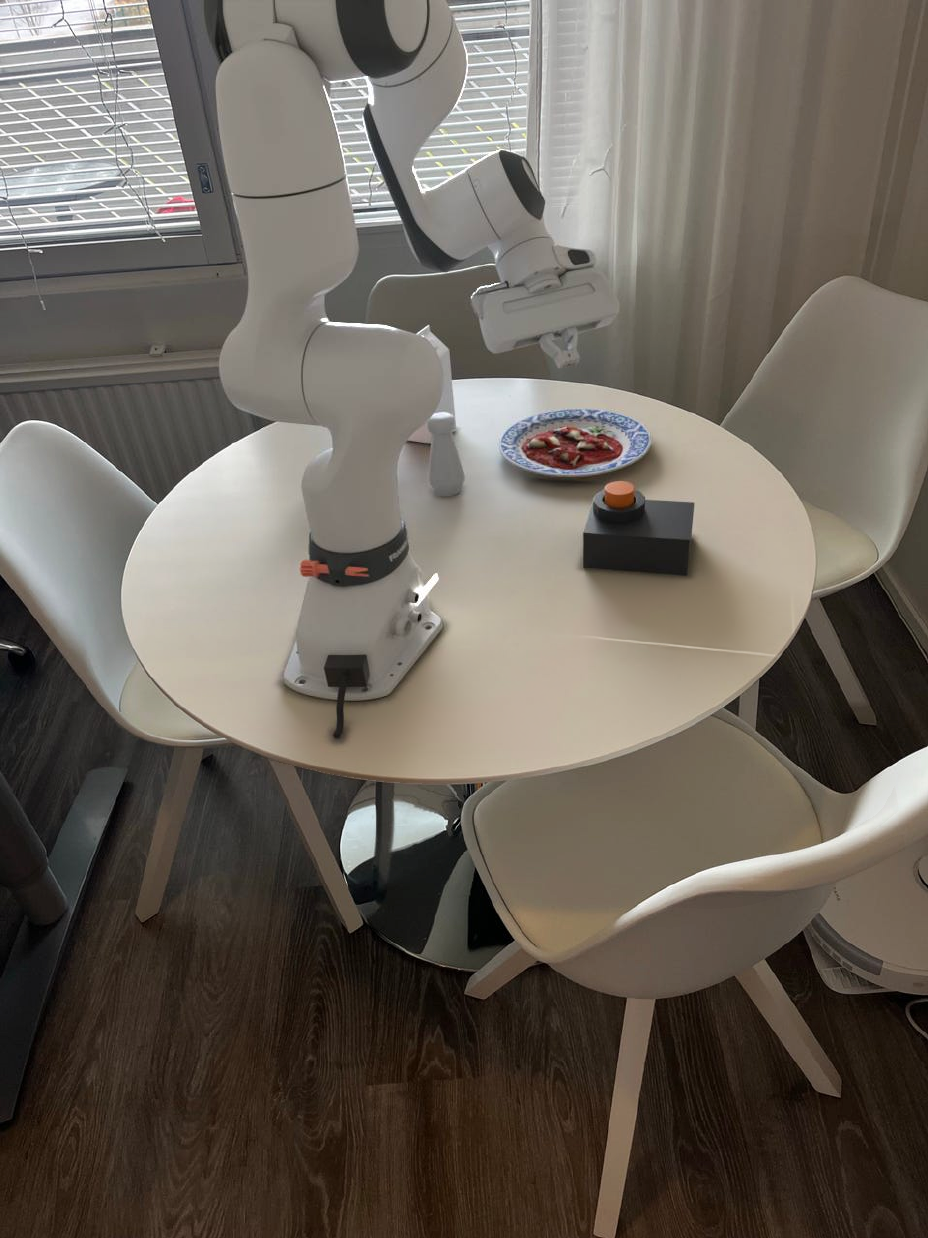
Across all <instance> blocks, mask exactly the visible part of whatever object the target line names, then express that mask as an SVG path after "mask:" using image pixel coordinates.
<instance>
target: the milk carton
mask: <svg viewBox="0 0 928 1238" xmlns="http://www.w3.org/2000/svg"><path fill="white" fill-rule="evenodd" d="M416 334H417V335H420V336H423V337H425V338H427V339H428V340H429V342H430V343H431V344H432V345H433V347H434V349H435V350H436V352H437V354H438V356H439V359H440V362H441V365H442V370H443V379H444V382H443V392H442V396H441V399H440V402H439V405H438V407H437V409H436V410H435V412H434V413H439V412H445V413H449V414H451V415H452V416H453V417H454V421H455V428H454V430H453V431H452V433H453V434H454V432H455V431H456V430H457V421H456V420H457V419H456V411H455V409H456V408H455V400H454V388H453V379H452V367H451V358H450V357H451V354H450V349H449V348H448V347H447V345H445V344H444V343H443V341H441V340H440V339H439V338H438V337H437V336H436V335H435V334H433V332H431V326H430V324H427V326H425V327H423V328H422V329H421V330H420V331H418V332H417V333H416ZM431 438H432V433H431V432H429V430H428V426H427V422H426V423H425V424H424V425H423V426H421V427H420V428H419V429H417V430H416V431H415V432H414V433H413V434H412V435H411V436H410V437H409V438H408V439H407V441H406V442H416V443H420V444H421V443H423V444H430V445H431Z"/></svg>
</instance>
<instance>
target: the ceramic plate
mask: <svg viewBox="0 0 928 1238" xmlns="http://www.w3.org/2000/svg"><path fill="white" fill-rule="evenodd" d="M651 445H652V435H651V432H650V430H648V428H647V427H646V426H645V425H644V424H643V423H641V422H640V421H637V420H636V419H634V418H632V417H630V416H627V415H625V414H621V413H617V412H614V411H610V410H609V411H608V410H602V409H593V408H567V409H558V410H552V411H547V412H541V413H538V414H535V415H531V416H528V417H526V418H524V419H521V420H519V421H517V422H516V423H513V424H511V425H510V426H509V427H508V428H507V429H505V431H503V432H502V433H501V436H500V437H499V439H498V450H499V452H500V454H501V456H502V457H503V459H505V460H506V461H507V462H508V463H510V464H511V465H513V466H515V467H516V468H519V469H521V470H524V471H526V472H530V473H533V474H539V475H544V476H550V477H562V478H563V477H567V478H568V477H569V478H576V477H578V478H580V477H591V476H597V475H604V474H608V473H611V472H615V471H618V470H621V469H624V468H626V467H628V466H631V465H633V464H634V463H636V462H638V461H639V460H640V459H642V458H643V457H644V456H645V455H646V454H647V453H649V450H650V448H651V447H652V446H651Z"/></svg>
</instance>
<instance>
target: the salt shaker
mask: <svg viewBox="0 0 928 1238" xmlns="http://www.w3.org/2000/svg"><path fill="white" fill-rule="evenodd" d="M427 426H428V430H429V432H431V433H432V438H431V444H430V456H429V471H428V479H429V483H430V486H431V488H433V490H434V491H435V492H436V494H437V495H438V496H439V497H447V498H449V497H452V496H455V495H457V494H460V491H461V488H462V486H463V484H464V483H465V479H466V475H465V472H464V467H463V465H462V461H461V457H460V455H459V451H458V447H457V443H456V440H455V437H454V432H453V433H452V431H453V430H454V428H455V421H454V417H453V416H452V415H451V414H449V413H445V412H439V413H434V414H433V415H432V416H431V418H430V419H429V420H428V421H427Z"/></svg>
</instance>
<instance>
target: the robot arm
mask: <svg viewBox="0 0 928 1238" xmlns="http://www.w3.org/2000/svg"><path fill="white" fill-rule="evenodd" d="M201 2H202V15H203V20H204V21H203V22H204V25H205V30H206V33H207V37H208V40H209V42H210V45H211V48H212V50H213V52H214V54H215V58H216V60H217V61H218V64H219V67H218V70H217V74H216V77H215V99H216V100H215V101H216V114H217V121H218V122H217V123H218V131H219V132H218V133H219V138H220V146H221V151H222V157H223V162H224V167H225V173H226V177H227V182H228V186H229V190H230V194H231V199H232V201H233V207H234V210H235V214H236V219H237V224H238V228H239V233H240V238H241V243H242V247H243V251H244V257H245V262H246V268H247V278H248V279H247V280H248V282H247V283H248V284H247V298H246V304H245V308H244V312H243V314H242V317H241V319H240V321H239V322H238V324H237V325H236V327H234V328H233V329H232V330H231V331H230V333H229V334H228V336H227V337H226V339H225V341H223V342H224V343H223V344H222V347H221V351H220V354H219V358H218V359H219V360H218V374H219V380H220V383H221V386H222V389H223V391H224V393H225V396H226V397H227V399H228V400H229V401H230V403H231V404H232V406H234V407H235V408H237V409H239V410H240V411H243V412H246V413H249V414H251V415H254V416H257V417H259V418H262V419H265V420H269V421H271V422H276V423H286V424H287V423H288V424H297V425H308V426H319V427H323V428H326V429H327V430H328V432H329V433H330V436H331V442H332V443H331V444H332V447H330V448H327V449H326V450H324V451H323V452H321V453H320V454H318V455H316V456H315V457H314V458H312V460H311V461H310V462H309V463H308V465H306V468H305V470H304V472H303V475H302V478H301V483H300V484H301V485H300V488H301V489H300V490H301V493H302V497H303V498H302V499H303V502H304V507H305V511H306V516H307V520H308V525H309V534H308V553H307V554H308V557H309V558H308V559H305V558H304V559H302V560H301V562H300V565H299V566H300V567H299V573H300V576H302V577H308V579H307V584H306V588H305V592H304V596H303V600H302V604H301V609H300V613H299V617H298V621H297V627H296V629H295V630H296V631H295V640H294V644H293V646H292V649H291V652H290V655H289V658H288V660H287V663H286V666H285V669H284V672H283V674H282V675H283V676H282V677H283V678H282V679H283V683H284V684H285V685H286V686H287V687H288V688H289V689H291V690H293V691H294V692H297V693H299V694H302V695H306V696H308V697H309V696H310V697H314V698H319V699H324V700H335V701H336V706H335V707H336V708H335V709H336V727H335V730H334V732H333V735H332V737H333V738H334V739H336V740H339V739H341V737H342V736H341V735H342V733H343V731H344V727H345V713H344V708H345V706H344V705H345V701H347V702H348V701H349V702H354V701H355V702H357V701H371V700H375V699H379V698H383V697H387V696H389V695H390V694H391V693H392V692H394V690H395V689H396V687H397V686H399V684H400V683H401V681H402V680H403V679H404V677H405V676H406V675H407V673H408V672H409V671H410V670H411V668H413V666H414V665H415V664H416V662H417V661H418V660H419V658H420V657H421V656H422V655H423V654H424V653H425V651H426V650H427V649H428V647H429V646H430V645H431V643H432V642H433V641H434V640H435V638H436V637H437V636H438V635H439V633H441V631H442V629H443V628H444V625H443V622H442V618H441V617H440V616H439V615H438V614H436V613H434V611H432V610H431V609H432V608H431V606H430V599H429V594H428V593H429V592H430V591H431V589H432V588H433V587H434V586H435V585H436V583H437V582H438V581H439V576H438V575H439V574H438V573H435V574H433V576H432V577H431V579H429V581H428V582H427V583H426V581H425V577H424V573H423V571H422V569H421V567H419V566H418V564H416V562H415V561H414V559H413V558H412V556H411V554H410V553H409V551H410V543H409V537H410V536H409V531H408V528H407V525H406V521H405V519H404V518H403V516H402V515H401V514H402V513H401V505H400V497H399V485H398V465H399V459H400V456H401V452H402V451H403V447H404V446H405V445H406V443H407V442H408V441H407V439H408V438H409V437H410V436H411V435H412V434H413V433H414V432H415V431H416V430H417V429H419V428H420V427H421V426H423V425H424V424H425V423H426V422H427V421H428V420H429V419H430V418H431V416H432V415H433V414H434V412H435V410H436V409H437V407H438V405H439V402H440V399H441V396H442V392H443V382H444V379H443V370H442V365H441V362H440V359H439V356H438V354H437V352H436V350H435V349H434V347H433V345H432V344H431V343H430V342H429V340H428V339H427V338H425V337H423V336H420V335H417V333H414V332H412V331H411V332H410V331H407V330H404V329H401V328H397V327H393V326H389V325H385V324H367V323H351V322H350V323H348V322H334V321H330V320H329V318H328V316H327V313H326V305H325V301H326V300H325V296H326V294H328V293H329V292H331V291H332V290H334V289H335V288H336V287H338V286H339V285H341V284H342V283H343V282H344V281H345V280H347V279H348V278H349V276H350V275H351V274H352V272H353V271H354V269H355V267H356V264H357V260H358V258H359V253H360V243H359V238H358V231H357V226H356V221H355V213H354V207H353V202H352V196H351V191H350V185H349V184H350V183H349V179H348V173H347V167H346V163H345V158H344V152H343V148H342V143H341V139H340V136H339V135H340V134H339V131H338V127H337V124H336V119H335V117H334V112H333V110H332V106H331V103H330V95H331V90H332V89H331V88H332V83H338V82H346V81H354V80H358V79H365V81H366V83H367V85H368V102H367V103H366V104H365V107H364V109H363V111H362V122H363V127H364V131H365V135H366V138H367V142H368V144H369V147H370V150H371V152H372V154H373V157H374V159H375V162H376V164H377V167H378V169H379V172H380V175H381V176H382V179H383V182H384V183H385V186H386V188H387V190H388V192H389V195H390V198H391V199H392V202H393V204H394V206H395V209H396V211H397V213H398V216H399V218H400V220H401V222H402V227H403V228H402V229H403V233H404V236H405V239H406V242H407V245H408V248H409V249H410V251H411V253H412V255H413V256H414V258H415V259H416V260H417V262H419V264H420V265H421V266H422V267H423V268H425V269H428V270H431V271H435V272H440V273H448V272H450V271H451V270H452V269H454V268H455V267H457V266H459V265H460V264H462V263H463V262H464V261H466V260H467V259H468V258H470V257H471V256H473V255H475V254H477V253H478V252H480V251H482V250H484V249H486V248H488V249H489V250H490V252H491V253H492V255H493V258H494V267H495V270H496V272H497V275H498V278H499V280H500V282H498V283H494V284H491V285H483V286H480V287H478V288H476V291H475V292H473V293H472V295H471V297H470V305H471V307H472V309H473V312H474V315H476V317H477V318H478V320H479V327H480V330H481V335H482V338H483V341H484V344H485V348H486V349H487V350H488V351H489V352H491V353H492V354H494V355H498V354H501V353H506V352H510V351H513V350H518V349H521V348H526V347H529V346H534V345H536V344H539V346H540V349H541V350H542V351H543V352H544V353H546V355H548V356H549V357H550V358H551V359H553V361H554V363H555V366H556V368H557V369H562V368H566V367H569V366H574V365H577V364H579V362H580V361H581V357H580V354H579V352H578V349H577V347H578V342H579V336H580V335H579V334H581V333H585V332H588V331H592V330H597V329H600V328H605V327H608V326H610V325H611V324H613V322H614V321H615V320H616V318H617V317H618V316H619V313H620V308H621V307H620V306H621V305H620V302H619V299H618V297H617V295H616V292H615V290H614V288H613V286H612V284H611V283H610V281H609V279H608V277H607V275H606V274H605V273H604V272H603V271H602V270H601V269H600V268H598V267H595V265H596V263H597V257H596V254H595V252H594V251H592V250H591V249H584V248H575V247H570V246H569V247H568V246H563V245H561V244H560V245H559V244H556V243H555V240H554V239H553V237H552V236H551V234H550V233H549V232H548V230H547V229H546V226H545V219H544V212H545V206H546V199H545V197H544V196H543V194H542V192H541V190H540V187H539V184H538V182H537V178H536V176H535V173H534V170H533V168H532V166H531V164H530V162H529V161H528V160H527V158H526V157H525V156H523V155H521V154H519V153H517V152H514V151H511V150H507V149H503V148H502V149H501V148H500V149H499V150H496V151H493V152H491V153H489V154H488V155H486V156H484V157H482V158H481V159H478V160H477V161H475V162H474V163H472V164H470V165H469V166H467V168H465V169H463V170H461V171H460V172H458V173H457V174H455V175H453V176H451V177H450V178H448V179H447V180H445V181H443V182H441V183H440V184H438V185H435V186H434V187H432V188H428V189H422V186H421V183H420V180H419V178H418V175H417V173H416V170H415V168H414V161H415V159H416V157H417V155H418V154H419V152H420V151H421V149H422V148H423V146H424V145H425V143H426V142H427V141H428V139H429V138H431V136H432V135H433V134H434V133H435V132H436V130H437V129H439V127H440V126H442V124H443V123H444V122H446V120H447V119H448V118H449V117H450V115H451V114H452V113H453V111H454V109H455V108H456V106H457V105H458V103H459V101H460V99H461V96H462V93H463V91H464V88H465V84H466V80H467V74H468V66H469V64H468V60H469V59H468V52H467V48H466V46H465V42H464V40H463V36H462V33H461V30H460V28H459V25H458V23H457V21H456V19H455V16H454V13H453V11H452V9H451V7H450V6H449V4H448V2H447V0H202V1H201ZM557 339H562V340H563V343H564V344H567V349H564V350H562V349H561V348H560V347H559V346H558V345H557V344H556V343H555V340H557Z"/></svg>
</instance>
